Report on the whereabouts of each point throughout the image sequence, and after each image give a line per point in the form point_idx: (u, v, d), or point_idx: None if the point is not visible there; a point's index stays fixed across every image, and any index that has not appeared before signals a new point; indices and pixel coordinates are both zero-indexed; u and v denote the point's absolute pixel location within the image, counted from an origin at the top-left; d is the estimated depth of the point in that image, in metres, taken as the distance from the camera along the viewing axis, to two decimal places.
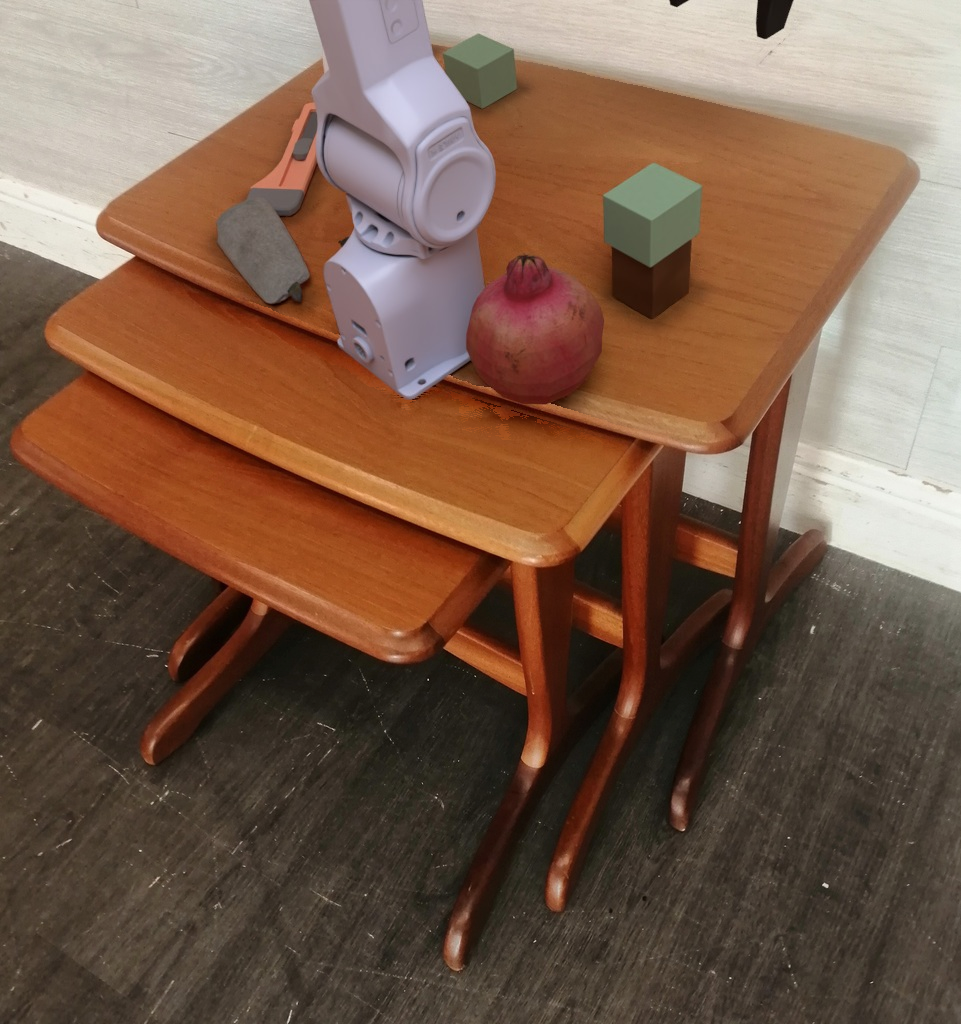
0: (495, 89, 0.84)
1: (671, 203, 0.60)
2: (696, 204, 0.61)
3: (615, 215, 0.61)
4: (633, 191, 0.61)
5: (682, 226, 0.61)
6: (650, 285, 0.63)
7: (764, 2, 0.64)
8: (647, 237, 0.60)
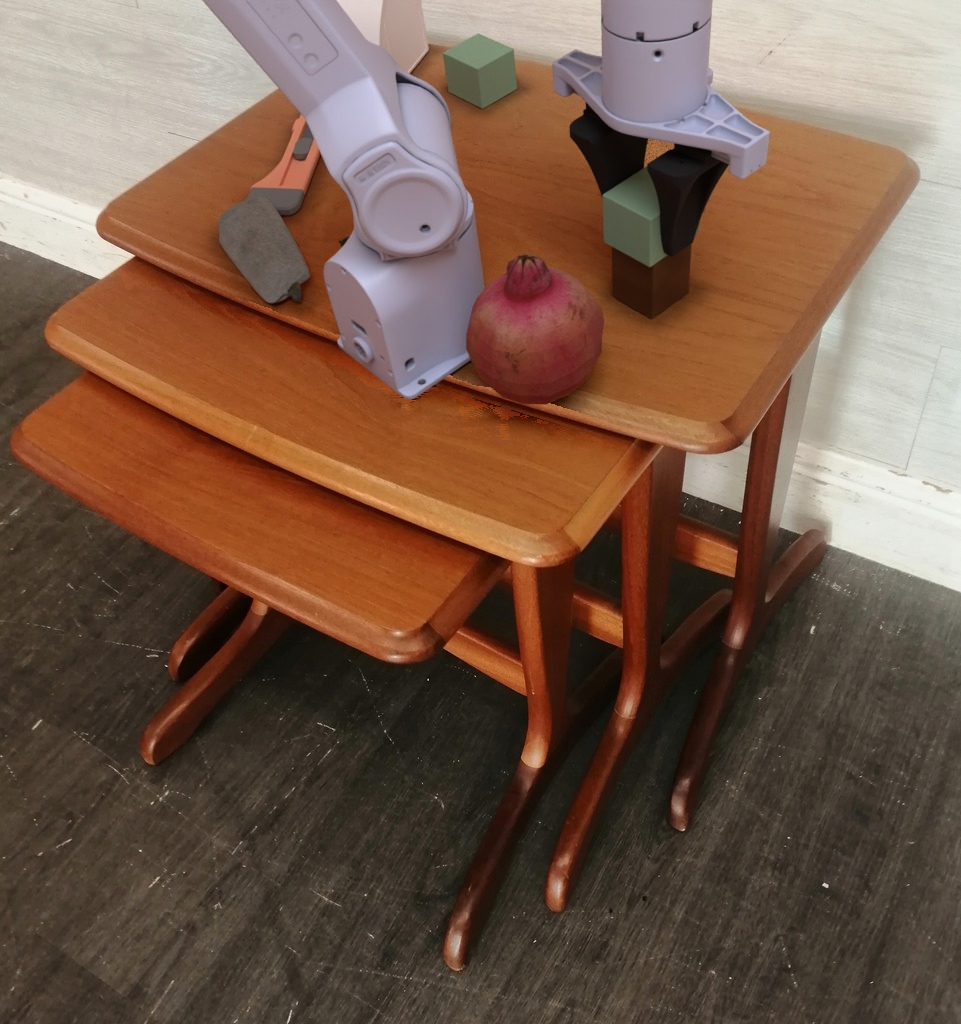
0: (495, 89, 0.84)
1: None
2: None
3: (615, 215, 0.61)
4: (633, 191, 0.61)
5: None
6: (650, 285, 0.63)
7: (667, 225, 0.59)
8: (647, 237, 0.60)
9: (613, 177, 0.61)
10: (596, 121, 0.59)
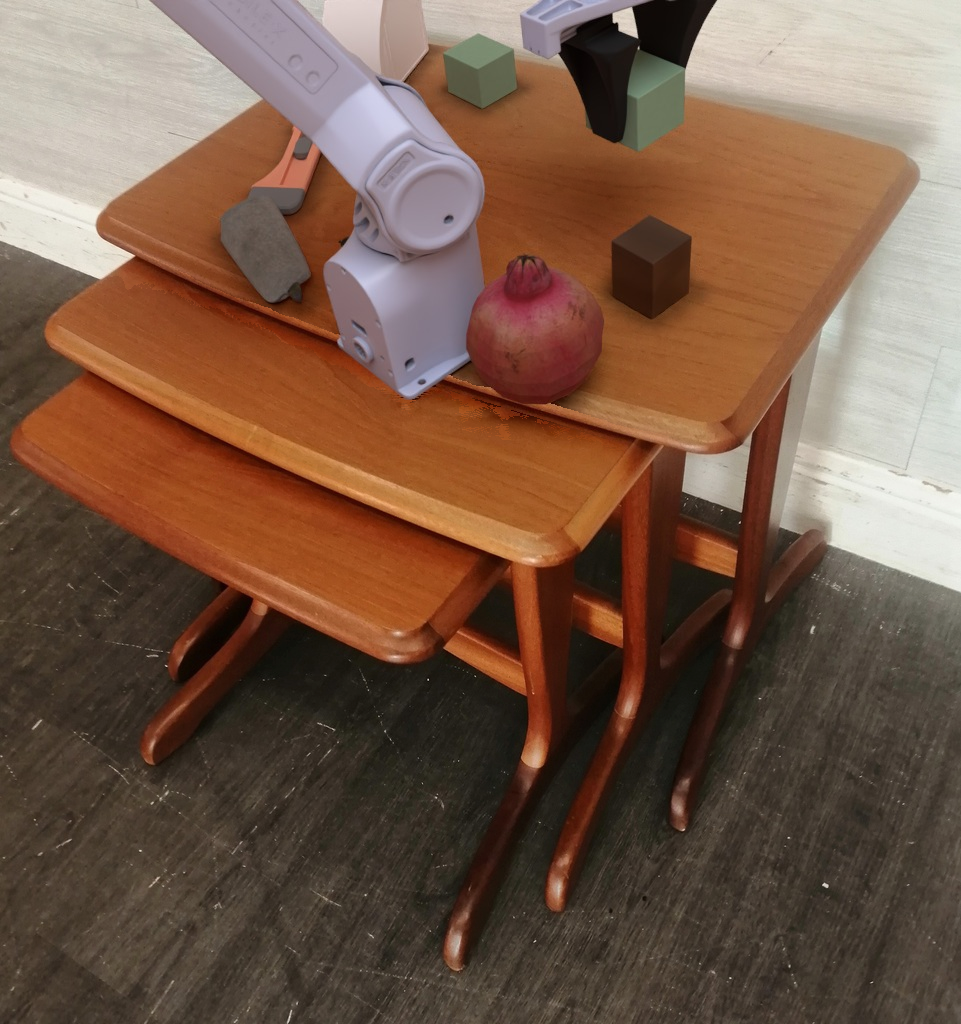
0: (495, 89, 0.84)
1: None
2: (631, 112, 0.58)
3: None
4: None
5: None
6: (650, 285, 0.63)
7: None
8: None
9: (645, 41, 0.60)
10: None
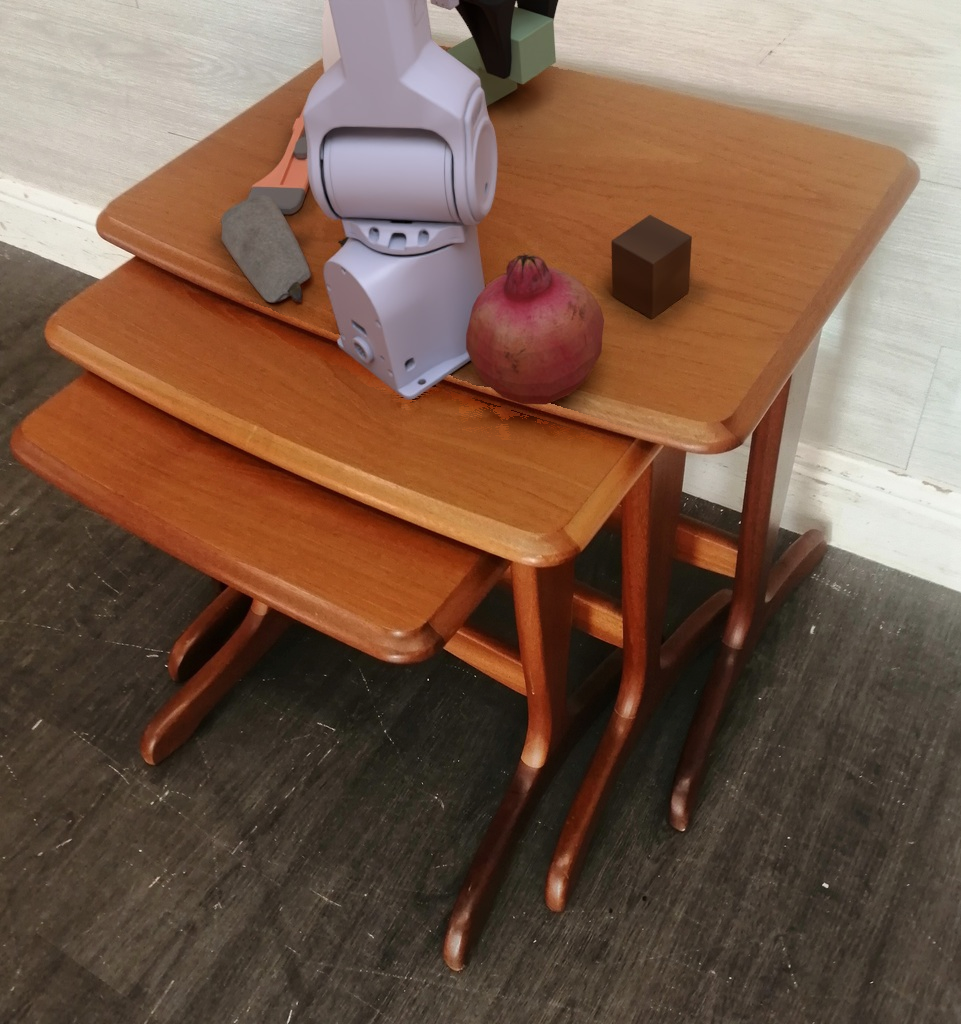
0: (495, 89, 0.84)
1: None
2: (515, 53, 0.77)
3: None
4: (513, 15, 0.78)
5: None
6: (650, 285, 0.63)
7: None
8: None
9: (521, 0, 0.79)
10: None
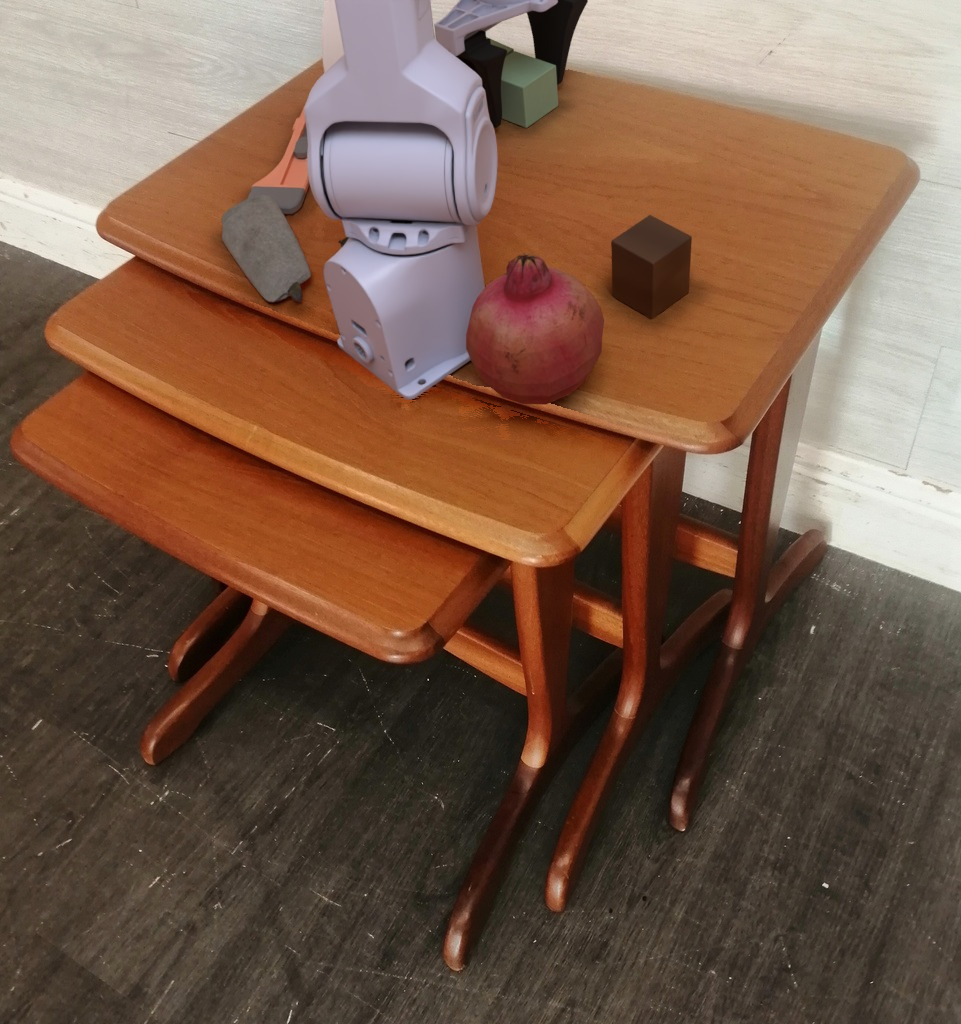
0: None
1: None
2: (519, 98, 0.80)
3: None
4: (517, 61, 0.81)
5: (509, 105, 0.81)
6: (650, 285, 0.63)
7: None
8: None
9: (537, 35, 0.82)
10: None
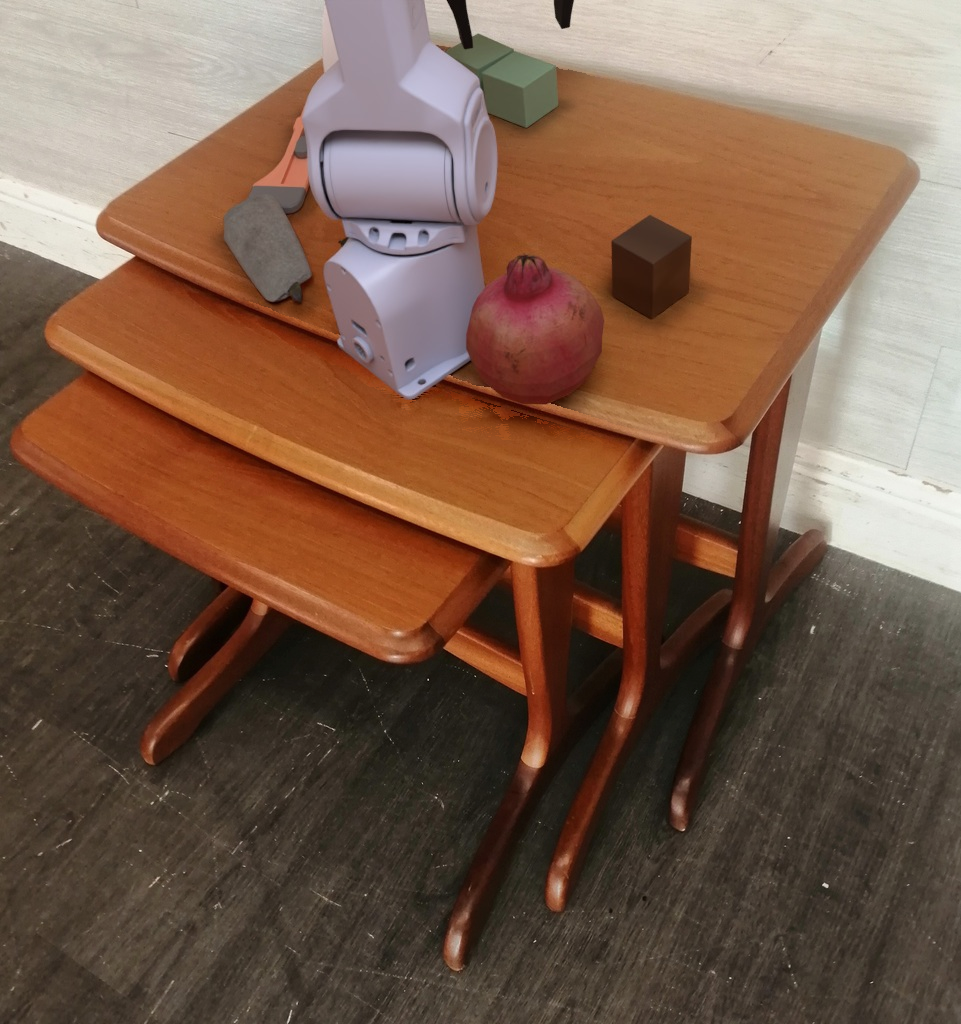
0: None
1: (500, 77, 0.80)
2: (519, 98, 0.80)
3: None
4: (517, 61, 0.81)
5: (509, 105, 0.81)
6: (650, 285, 0.63)
7: None
8: (485, 86, 0.82)
9: None
10: None
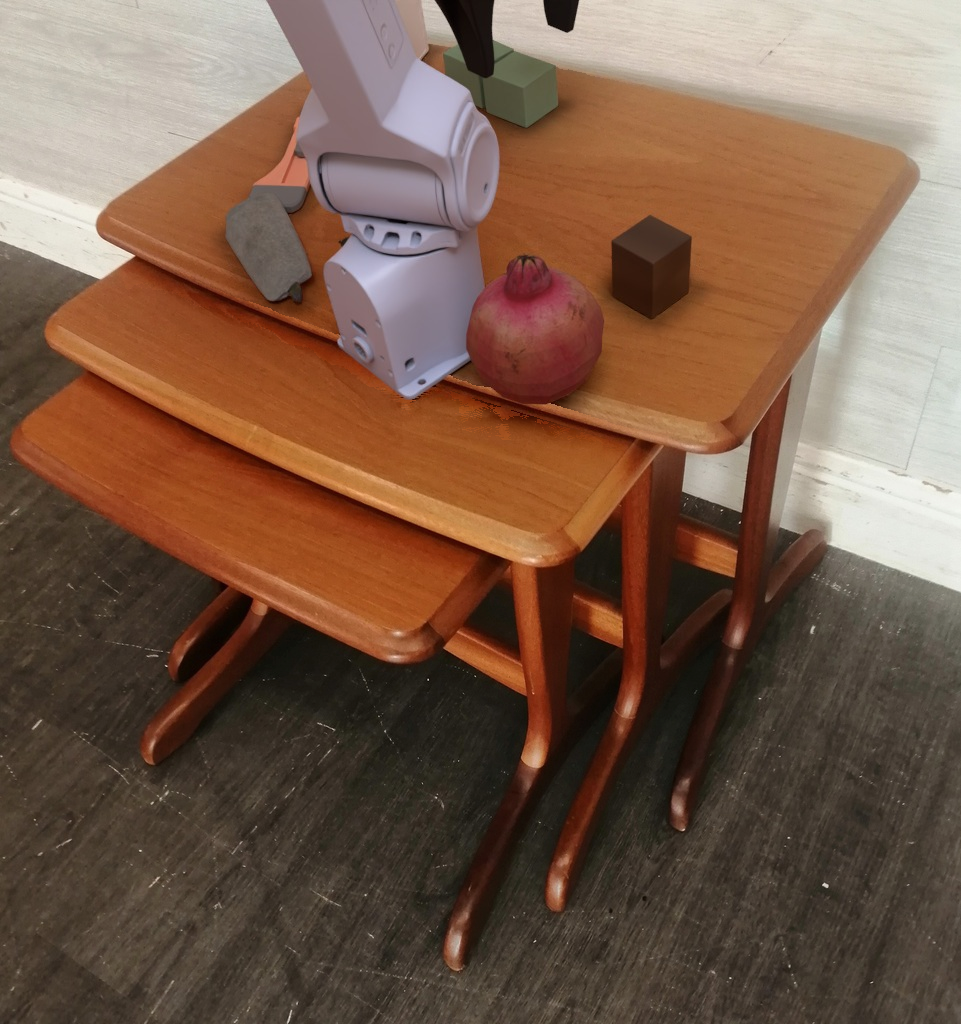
0: None
1: (500, 77, 0.80)
2: (519, 98, 0.80)
3: None
4: (517, 61, 0.81)
5: (509, 105, 0.81)
6: (650, 285, 0.63)
7: None
8: (485, 86, 0.82)
9: None
10: None
